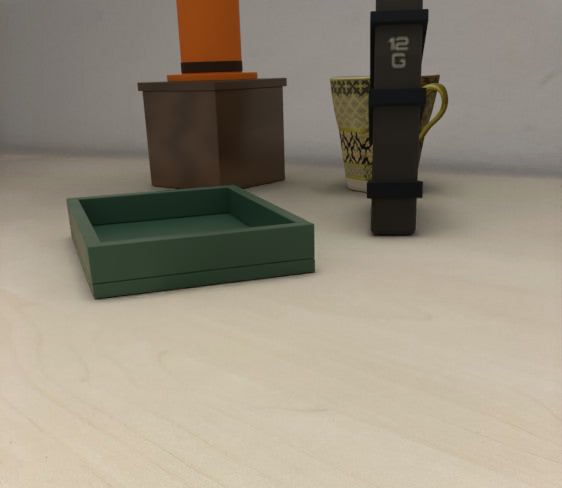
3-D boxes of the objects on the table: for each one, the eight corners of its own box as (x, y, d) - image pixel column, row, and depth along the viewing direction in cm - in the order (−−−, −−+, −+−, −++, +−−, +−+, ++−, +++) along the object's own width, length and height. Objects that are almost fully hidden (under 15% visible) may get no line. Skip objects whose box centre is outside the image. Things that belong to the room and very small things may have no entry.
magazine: (365, 220, 46) (370, -7, 46) (366, 260, 59) (370, 83, 59) (424, 220, 45) (429, -10, 46) (412, 260, 58) (415, 81, 59)
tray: (71, 236, 52) (65, 198, 50) (236, 220, 55) (234, 184, 54) (94, 299, 37) (87, 246, 36) (315, 271, 41) (314, 223, 40)
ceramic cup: (309, 186, 70) (308, 77, 66) (386, 176, 75) (389, 74, 71) (398, 204, 60) (403, 76, 56) (479, 190, 65) (489, 73, 61)
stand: (147, 185, 74) (136, 82, 70) (217, 173, 81) (211, 79, 77) (221, 193, 67) (214, 81, 63) (289, 179, 75) (286, 77, 71)
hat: (148, 82, 70) (137, -29, 66) (211, 79, 76) (204, -22, 72) (214, 80, 64) (206, -40, 61) (275, 78, 71) (272, -32, 67)
